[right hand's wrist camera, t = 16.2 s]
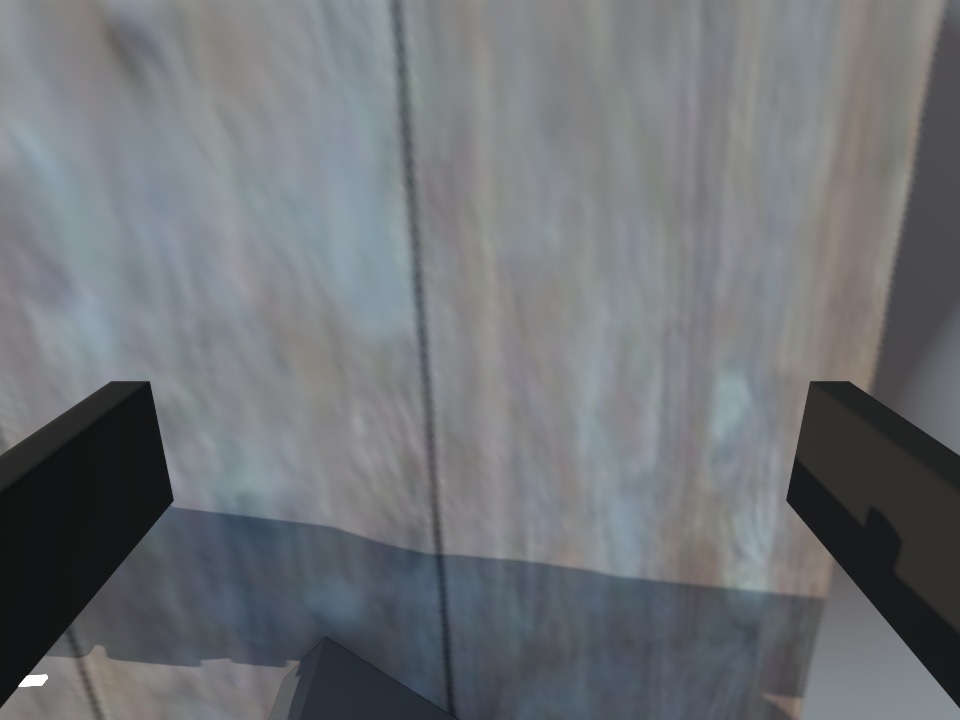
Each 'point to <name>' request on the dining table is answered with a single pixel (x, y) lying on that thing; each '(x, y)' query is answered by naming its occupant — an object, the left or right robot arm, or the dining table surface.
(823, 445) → the right robot arm
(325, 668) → the box
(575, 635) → the dining table surface
